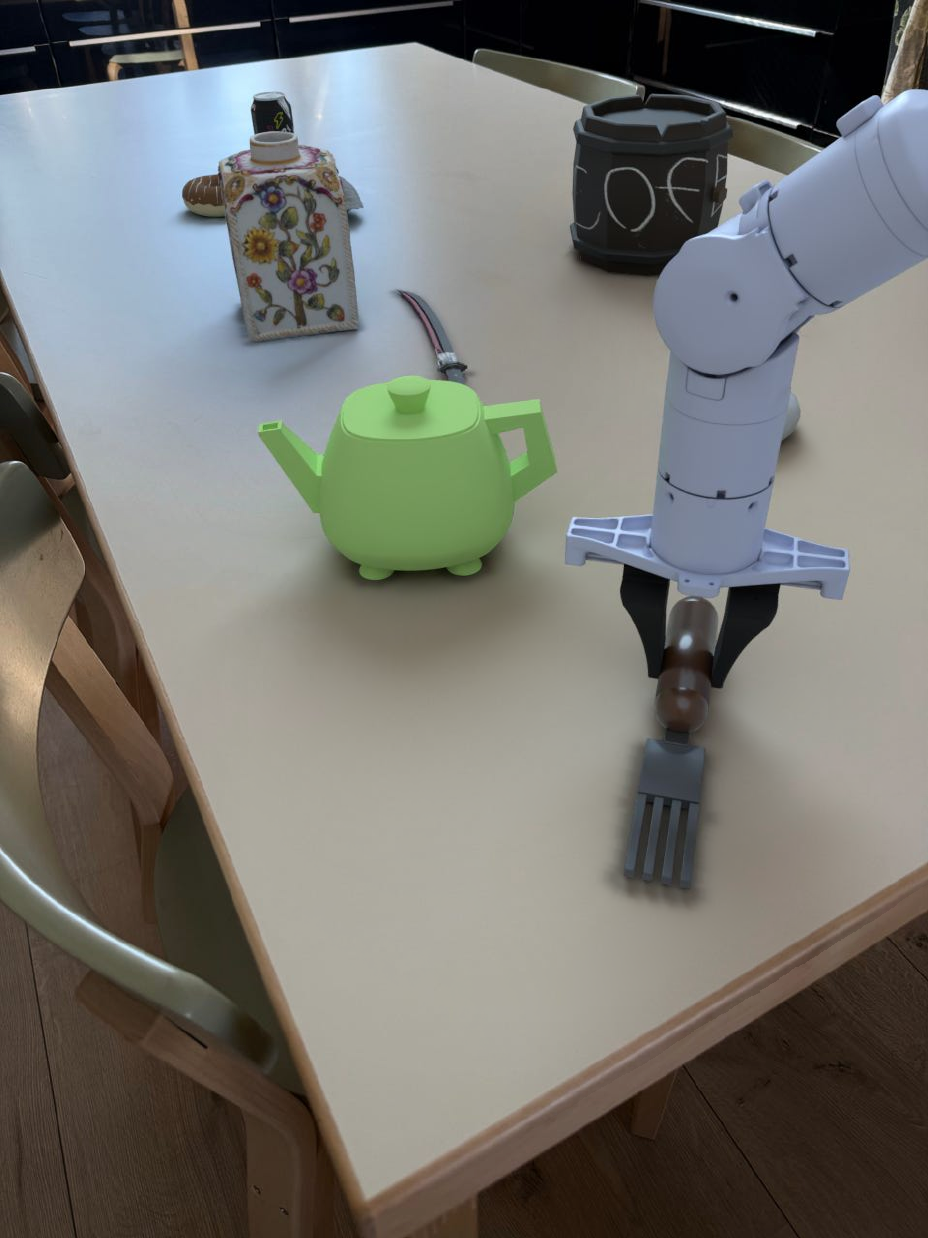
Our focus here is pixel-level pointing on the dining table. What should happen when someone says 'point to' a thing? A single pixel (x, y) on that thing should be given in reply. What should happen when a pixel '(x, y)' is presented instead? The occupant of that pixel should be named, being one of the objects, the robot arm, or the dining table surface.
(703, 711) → the fork
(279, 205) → the decorative jar
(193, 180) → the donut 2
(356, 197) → the seashell
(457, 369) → the sword
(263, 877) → the dining table surface
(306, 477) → the teapot
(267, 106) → the beverage can
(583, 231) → the wooden barrel
